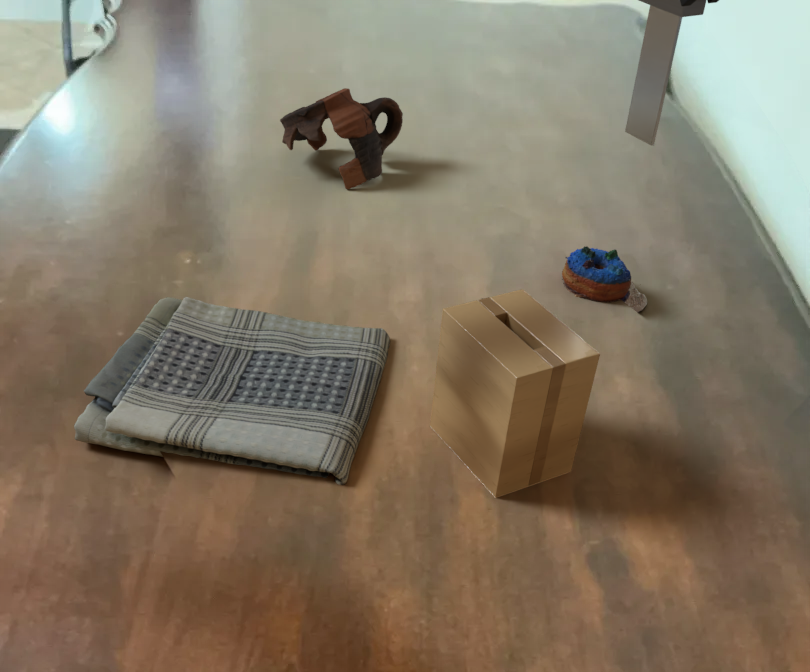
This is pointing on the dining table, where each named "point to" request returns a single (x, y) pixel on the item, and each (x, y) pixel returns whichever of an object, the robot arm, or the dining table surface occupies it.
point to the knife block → (511, 390)
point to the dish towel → (238, 389)
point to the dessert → (601, 278)
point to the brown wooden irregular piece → (347, 131)
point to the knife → (656, 65)
